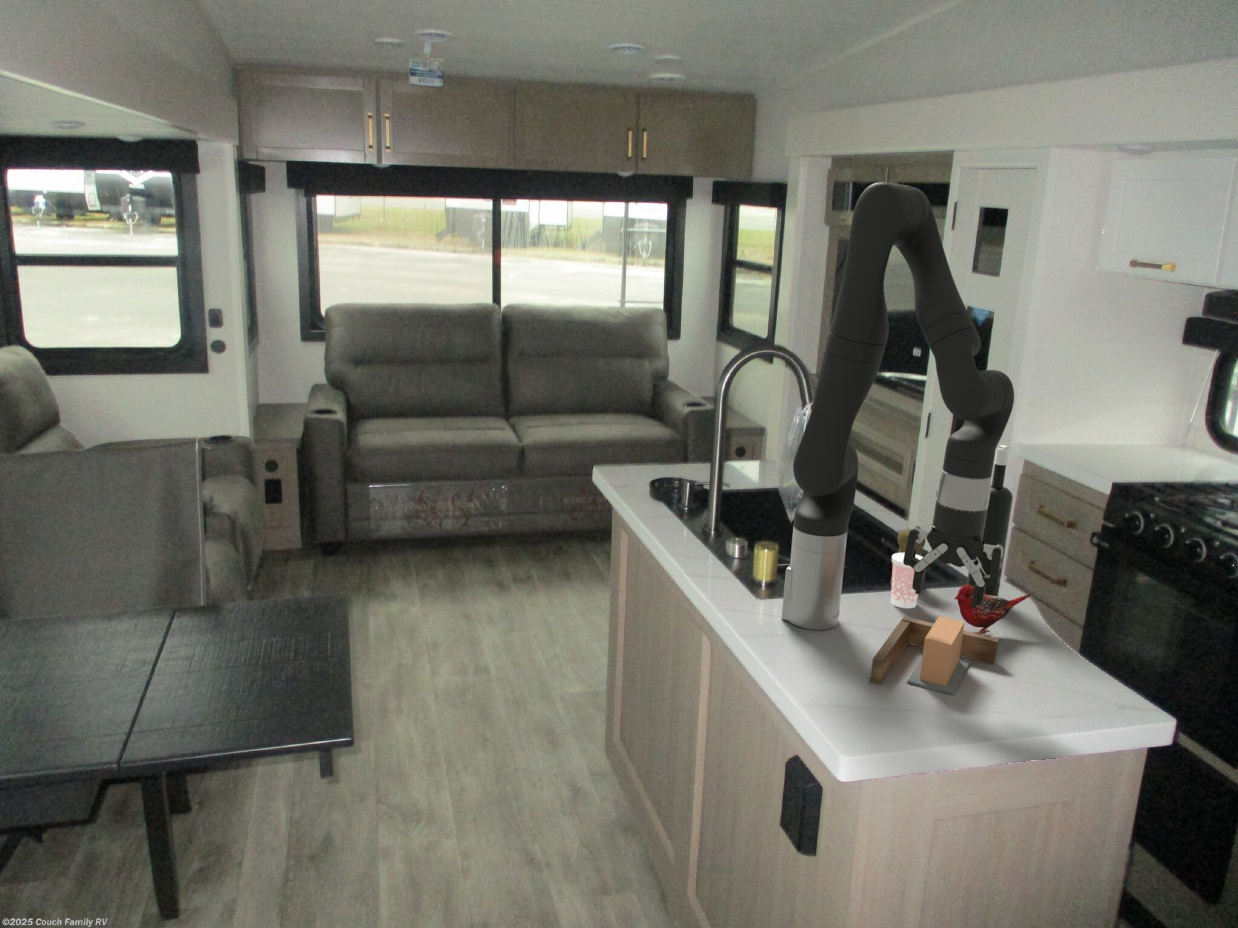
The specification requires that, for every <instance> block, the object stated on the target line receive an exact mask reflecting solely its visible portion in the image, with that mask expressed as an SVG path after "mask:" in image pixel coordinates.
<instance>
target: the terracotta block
mask: <svg viewBox="0 0 1238 928" xmlns="http://www.w3.org/2000/svg"><path fill="white" fill-rule="evenodd" d="M964 627H965V621H964V620H962V621H961V620H957V619H954V618H949V617H945V616H939V615H938V617H937V618H936V620H935V622H934V625H933V626H932V628H931V630H930V631H929V633H928V634H927V636H926V637H925V641H924V647H923V650H922V657H921V658H922V665H921V672H920V680H924V681H927V682H931V683H935V684H939V685H943V686H946V685H947V683H948V681H949V679H950V678H951V676H952V674H953V672H954V670H955V668H956V666H957V664H958V663H959V658H961V656H960V651H961V644H962V637H963V630H964V629H965V628H964ZM964 631H965V630H964Z"/></svg>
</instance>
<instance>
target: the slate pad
mask: <svg viewBox="0 0 1238 928" xmlns="http://www.w3.org/2000/svg"><path fill="white" fill-rule="evenodd" d="M970 664H971V660H970V659H968V658H964V657H963V658H962V657H960V658H959V663H958V664H957V666H956V668H955V670H954V672H953V674H952V676H951V678H950V679H949V681H948V683H947V685H946V686H943V685H939V684H935V683H931V682H927V681H924V680H920V672H921V665H922V657H921V658H920V660H919V662H917V665H916V666H915V668H914V670H913V671H912V672H911V675H910V676H909V678H908V679H907V684H910V685H914V686H917V687H922V688H924V689H927V690H928V689H929V690H933V691H936V692H940V693H944V694H947V695H952V696H954V695H955V693H956V691H957V689H958V687H959V685H960V684H961V681H962V679H963V677H964V675H965V673H966V671H967V669H968V667H969V665H970Z"/></svg>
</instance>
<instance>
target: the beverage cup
mask: <svg viewBox="0 0 1238 928" xmlns="http://www.w3.org/2000/svg"><path fill="white" fill-rule="evenodd" d="M904 555H905V553H898V552H895V553H893V554H892V555H891V563H892V569H891V570H892V571H891V578H892V584H891V591H890V593H891V595H890V603H891V604H892V605H893V606H895V607H898V608H900V609H914V608H916V607H917V603H918V602H917V601H918V597H919V594H915V591H916V590H913V587H912V584H913V578H914V569H913V568H912V567H910V566H909V565H908V566H907V565H905V564H904V563H903V559H904ZM915 557H916V558H917V559H919V560H921V559H922V558H923V557H924V556H923V555H922V556H920V555H915Z"/></svg>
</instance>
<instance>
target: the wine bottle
mask: <svg viewBox="0 0 1238 928" xmlns="http://www.w3.org/2000/svg"><path fill="white" fill-rule="evenodd" d="M1009 453H1010V446H1008V445H1003V444H999V445H997V447H996V450H995V457H994V463H993V464H994V465H993V467H994V468H993V472H992V473H993V475H992V479H991V492H990V498H989V504H988V510H987V516H986V522H985V528H984V534H983V541H984V543H985V544H988V545H995V546H996V545H997V544H1002V545H1003V546H1004V551H1003V561H1002V568H1003V567H1004V566H1003V565H1004V561H1005V560H1004V558H1005V552H1006V545H1007V540H1008V539H1007V538H1008V532H1009V525H1010V517H1011V512H1012V504H1013V493H1012V491H1011V490H1009V489H1008V488H1007V487H1006V486H1004V484H1005V483H1004V482H1005V476H1006V469H1007V466H1008V460H1009ZM977 557H978V559H979V561H980V563H981V565H982V568H983V570H984V572H985V574H986V575H990V571H991V561H992V560H990V559H988V557H987V553H986V552H984V551H983V552H982V553H981V554H980V555H979V556H977ZM974 561H975V560H974ZM1002 572H1003V569H1002V570H1001V574H1002ZM1001 580H1002V578H1001V579H1000V580H999V582H998V584H997V585H996V586H992V585H988V586H986V590H985V595H992V596H997V597H999V593H1000V592H999V591H1000V586H1001ZM966 585H970V586H973V587H975V585H976V582H975V580H974V579H973V577H972V575H970V574H969V573H968V575H967V581H966Z"/></svg>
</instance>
